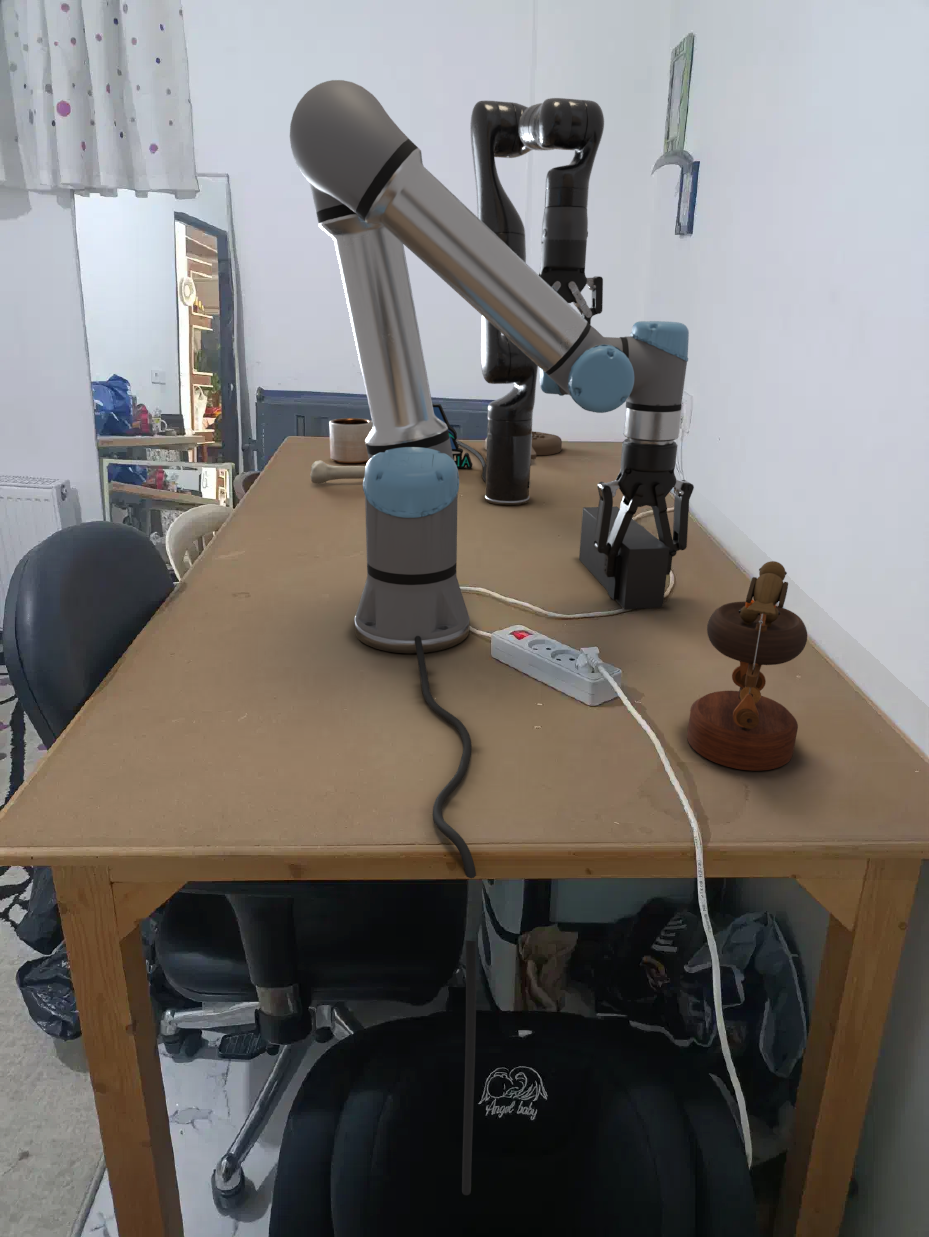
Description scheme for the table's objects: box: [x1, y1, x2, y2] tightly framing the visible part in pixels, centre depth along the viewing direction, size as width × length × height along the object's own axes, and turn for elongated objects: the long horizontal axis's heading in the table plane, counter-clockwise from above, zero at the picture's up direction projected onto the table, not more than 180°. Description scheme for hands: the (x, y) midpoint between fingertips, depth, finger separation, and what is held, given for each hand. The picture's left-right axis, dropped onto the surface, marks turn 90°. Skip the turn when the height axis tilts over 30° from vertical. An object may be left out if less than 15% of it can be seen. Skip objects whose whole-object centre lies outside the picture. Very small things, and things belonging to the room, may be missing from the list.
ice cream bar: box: [484, 431, 563, 460], centre depth 224 cm, size 21×28×4 cm
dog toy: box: [309, 460, 366, 485], centre depth 190 cm, size 20×6×5 cm, turn 99°
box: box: [578, 506, 669, 610], centre depth 131 cm, size 23×6×9 cm, turn 9°
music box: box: [686, 560, 808, 772], centre depth 84 cm, size 15×11×20 cm
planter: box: [328, 417, 373, 464], centre depth 212 cm, size 11×11×10 cm
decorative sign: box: [432, 403, 474, 469], centre depth 205 cm, size 19×2×15 cm, turn 86°
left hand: (634, 595), depth 126 cm, fingers open, 6 cm apart
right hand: (558, 340), depth 147 cm, fingers open, 8 cm apart
